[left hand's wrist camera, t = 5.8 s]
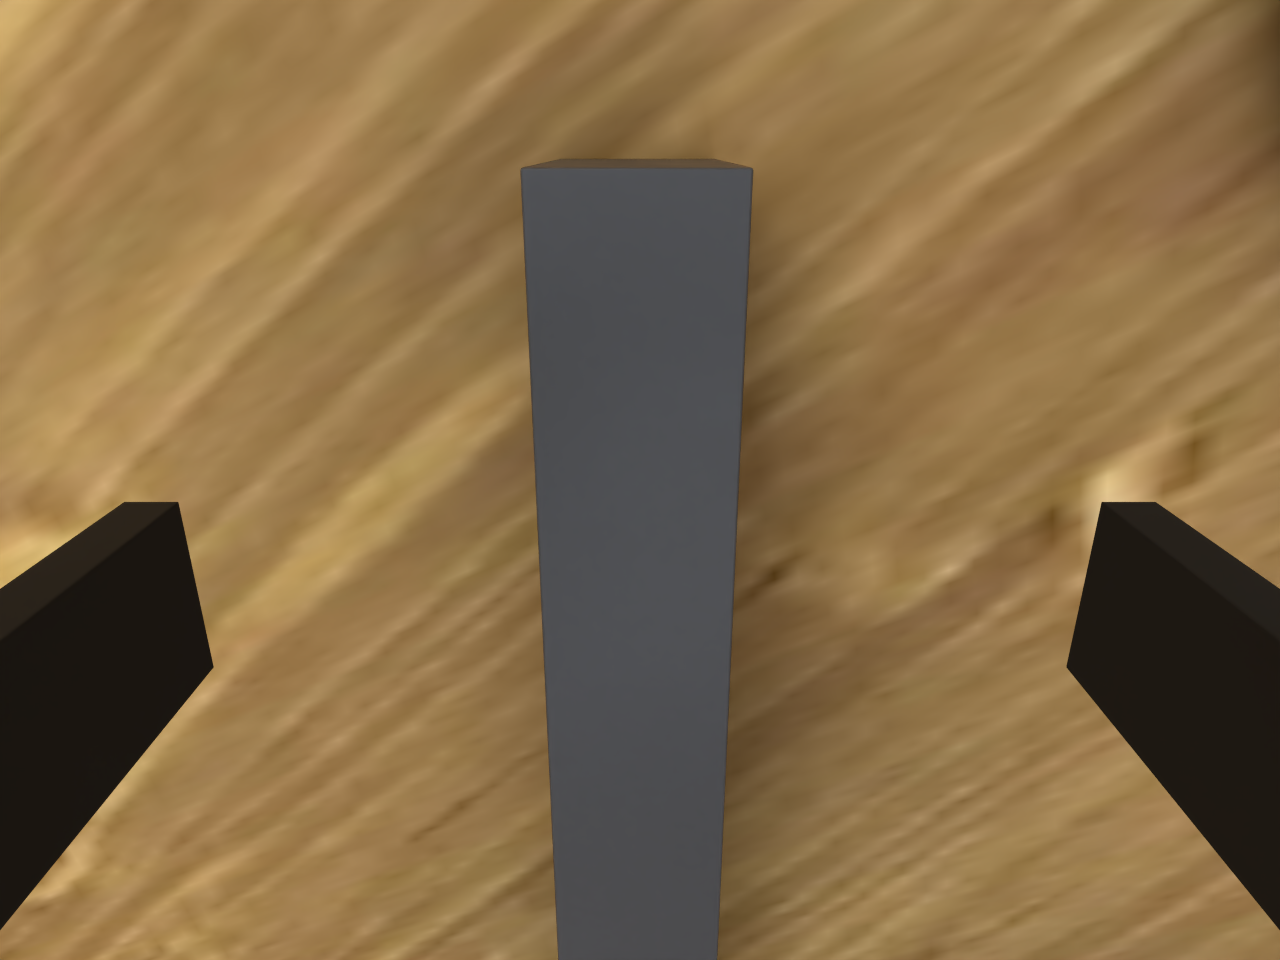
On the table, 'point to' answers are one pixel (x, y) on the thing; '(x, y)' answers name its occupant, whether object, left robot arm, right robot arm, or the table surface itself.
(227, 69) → the table surface
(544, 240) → the bar
